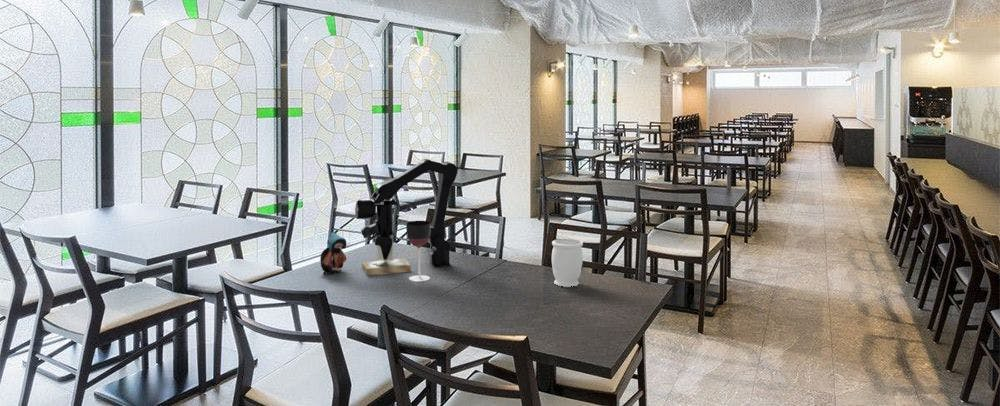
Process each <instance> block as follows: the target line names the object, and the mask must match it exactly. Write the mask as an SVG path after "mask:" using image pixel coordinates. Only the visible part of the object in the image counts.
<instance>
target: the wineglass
mask: <svg viewBox="0 0 1000 406" xmlns="http://www.w3.org/2000/svg"><path fill="white" fill-rule="evenodd" d="M430 224H431V222H430V221H427V220H410V221H408V222H406V232H407V233H406V234H407V238H408V241H409V243H410V244H411V245H413V246H414V247H416V248H417V269H418V271H417V272H418V275H412V276H409V277H408V279H409V281H412V282H426V281H428V280H430V279H431V277H430V276H428V275H425V274H424V275H422V274H421V248H422V247H423V246H425V245H426V244H427V243H428V242H427V241H428V239H429V235H430Z"/></svg>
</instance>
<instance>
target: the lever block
mask: <svg viewBox="0 0 1000 406" xmlns="http://www.w3.org/2000/svg"><path fill="white" fill-rule="evenodd" d="M382 263H384V260H373V261H363V262H361V269H362V271H363V272H364V274H365V275H366V276H367V277H370V276H379V275H381V276H382V275H389V274H391V275H392V274H398V273H407V272H408V273H410V272H412V271H411V268H412V267H411V264H410V262H408V261H407V260H406V259H405V258H404V257H403V258H394V260H393V261H389V260H388V263H386V264H384V265H382V266H380V265H381V264H382Z"/></svg>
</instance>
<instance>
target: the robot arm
mask: <svg viewBox="0 0 1000 406" xmlns="http://www.w3.org/2000/svg"><path fill="white" fill-rule="evenodd" d="M429 171H430V172H434V173H437V178H438V187H437V195H436V201H435V205H434V211H433V216H432V221H431V222H430V235H429V239H428V241H427V243H428V244H430V246H431V252H430V253H429V262H430V264H431V266H432V267H434V268H439V267H441V268H442V267H448V266H451V262H450V251H451V244H450V243H449V242H448V241H447V240H446V231H445V230H446V229H445V219H446V214H447V209H448V204H449V199H450V192H451V189H452V186H453V184H454V183H455V181H456V179H457V176H458V173H459V168H458V167H457V166H456V164H454V163H452V162H450V161H443V162H439V161H434V160H431V159H428V158H423V159H421V161H420V162H418V163H417V164H414V165H413V166H411V167H410V168H408V169H406V170H405V171H404V172H401V173H399V175H397V176H395V177H393V178H389V179H386V180H384V181H381V182H379V183H378V184H376V185H375V187H374V193H373V194H372V195H371V197H370V198H369V199H356V200H355V202H356V203H355V208H354V213H355V218H356V220H360V219H362V220H363V219H364V220H365V219H373V218H374V217H375V216H376V220H375V223H373V224H369V225H366V226H363V227H362V228H361V229H360V232H361V235H362V236H363V238H364V239H367V238H368V237H371V236H373V235H375V236H376V237H374V245H375V246H377V245H379V246H380V247H381V251H382V255H383V259H384V260H387V258H388V255H389V252H390V250H391V247H392V245H394V244H393V243H394V238H395V237H393V236H395V228H394V227H393V225H394V224H393V222H394V219H393V215H394V213H393V206H397V205H399V203H398V202H397V201H396V199H394V198H393V197H394V196H395V195H396V194H397V193H399V191H400V190H401V189H402V188H403V187H405V186H406V185H407V184H409V183H410V182H412V181H413V180H415V179H417V178H418V177H421V176H422V175H424V174H426V172H429Z"/></svg>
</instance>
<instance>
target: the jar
mask: <svg viewBox="0 0 1000 406" xmlns="http://www.w3.org/2000/svg"><path fill="white" fill-rule="evenodd" d="M551 245H552V246H553V248H552V251H551V266H552V274H553V276H554V281H553V283H554V285H555V284H556V285H555V286H557V285H558V286H557V287H561V286H563V288H574V287H573V286H575V287H578V286H579V285H580V282H579V279H580V276H581V271H582V267H583V261H584V258H583V250H582V247H583V246H584V242H583V241H582V240H579V239H574V238H573V239H572V238H560V239H559V238H558V239H554V240H552V241H551ZM578 284H579V285H578ZM571 286H572V287H571Z"/></svg>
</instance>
